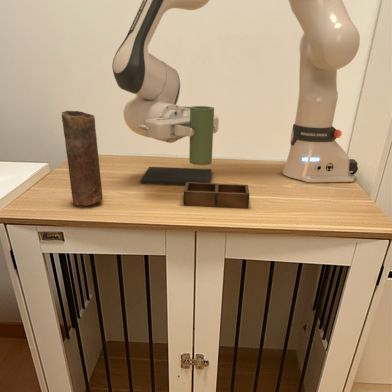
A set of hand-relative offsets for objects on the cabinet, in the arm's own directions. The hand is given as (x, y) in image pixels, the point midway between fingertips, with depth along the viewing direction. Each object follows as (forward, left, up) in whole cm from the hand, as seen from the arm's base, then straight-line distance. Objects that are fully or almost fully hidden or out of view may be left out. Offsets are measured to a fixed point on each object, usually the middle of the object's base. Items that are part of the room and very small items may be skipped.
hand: (204, 130), depth 98 cm
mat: (+8, -21, -16) cm, 28 cm away
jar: (+1, -1, -7) cm, 7 cm away
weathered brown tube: (+28, +7, -16) cm, 33 cm away
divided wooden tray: (-4, +1, -16) cm, 17 cm away
